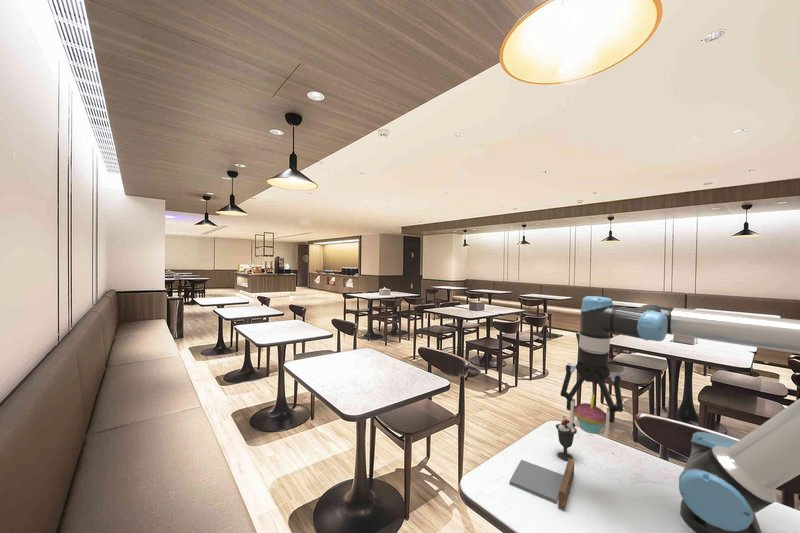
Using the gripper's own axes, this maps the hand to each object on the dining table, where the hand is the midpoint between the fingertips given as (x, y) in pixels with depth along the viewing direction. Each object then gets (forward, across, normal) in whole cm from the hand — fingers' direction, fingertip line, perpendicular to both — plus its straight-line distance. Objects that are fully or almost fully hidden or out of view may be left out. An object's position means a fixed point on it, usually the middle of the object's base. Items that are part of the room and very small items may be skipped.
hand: (588, 426), depth 94 cm
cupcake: (+1, 0, 0) cm, 1 cm away
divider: (+20, +4, +3) cm, 21 cm away
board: (+20, +12, +4) cm, 24 cm away
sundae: (+20, +8, -15) cm, 27 cm away
